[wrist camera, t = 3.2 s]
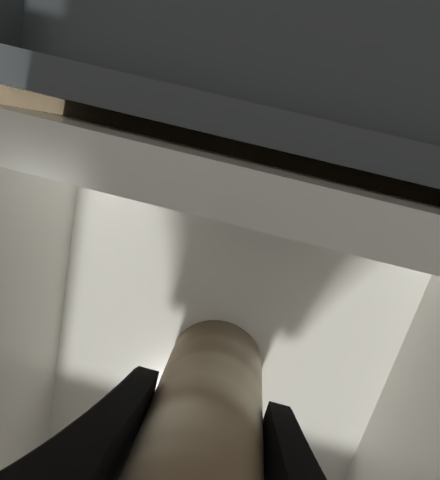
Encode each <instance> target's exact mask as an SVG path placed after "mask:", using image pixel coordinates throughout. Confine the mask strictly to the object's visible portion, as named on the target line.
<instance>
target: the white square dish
mask: <svg viewBox="0 0 440 480" xmlns="http://www.w3.org/2000/svg"><path fill="white" fill-rule="evenodd" d="M207 320H221V321H226V322H229V323H232V324H235V325H237V326H239V327H240V328H242V329H243V330H245V331H246V332H247V333H248V334H249V335H250V336H251V337H252V338H253V339H254V341H255V342H256V344H257V346H258V348H259V350H260V354H261V361H262V402H263V418H264V415H265V412H266V409H267V406H268V403H269V401H271V402H275V403H278V404H282V405H286V406H290V407H291V409H292V411H293V413H294V415H295V417H296V419H297V421H298V423H299V425H300V427H301V430H302V432H303V434H304V436H305V438H306V440H307V442H308V444H309V446H310V448H311V450H312V452H313V454H314V456H315V458H316V460H317V462H318V463H319V465H320V467H321V469H322V471H323V473H324V475H325V476H326V478H327V480H440V206H436V205H431V204H427V203H423V202H419V201H415V200H411V199H407V198H402V197H398V196H394V195H390V194H386V193H382V192H378V191H374V190H369V189H365V188H361V187H357V186H353V185H349V184H345V183H341V182H336V181H332V180H328V179H324V178H320V177H316V176H312V175H307V174H303V173H299V172H295V171H291V170H287V169H283V168H279V167H274V166H270V165H266V164H262V163H258V162H254V161H250V160H246V159H241V158H237V157H233V156H229V155H225V154H221V153H217V152H212V151H208V150H204V149H200V148H196V147H192V146H188V145H184V144H179V143H175V142H171V141H167V140H163V139H159V138H155V137H151V136H146V135H142V134H138V133H134V132H130V131H126V130H122V129H117V128H113V127H109V126H105V125H101V124H97V123H93V122H89V121H84V120H80V119H76V118H72V117H68V116H64V115H59V114H53V113H47V112H42V111H36V110H30V109H24V108H19V107H13V106H7V105H1V104H0V470H2V469H3V468H5V467H7V466H9V465H10V464H12V463H13V462H15V461H17V460H18V459H20V458H21V457H23V456H25V455H26V454H28V453H29V452H31V451H32V450H34V449H35V448H37V447H38V446H40V445H41V444H43V443H44V442H46V441H47V440H49V439H50V438H51V437H53V436H54V435H56V434H57V433H58V432H60V431H61V430H62V429H64V428H65V427H66V426H68V425H69V424H70V423H72V422H73V421H74V420H76V419H77V418H79V417H80V416H81V415H82V414H84V413H85V412H86V411H87V410H89V409H90V408H91V407H92V406H93V405H95V404H96V403H97V402H98V401H99V400H101V399H102V398H103V397H104V396H105V395H107V394H108V393H109V392H110V391H111V390H112V389H113V388H114V387H116V386H117V385H118V384H119V383H120V382H121V381H122V380H123V379H124V378H125V377H126V376H127V375H128V374H129V373H130V372H131V371H132V370H133V369H134V368H136V367H138V366H141V367H145V368H148V369H152V370H156V371H159V375H158V380H157V384H156V388H157V385H158V383H159V381H160V378H161V376H162V374H163V371H164V369H165V366H166V364H167V362H168V359H169V357H170V354H171V352H172V350H173V347H174V345H175V343H176V341H177V339H178V337H179V336H180V335H181V334H182V333H183V331H185V330H186V329H187V328H189V327H190V326H192V325H194V324H196V323H199V322H202V321H207ZM155 390H156V389H155Z"/></svg>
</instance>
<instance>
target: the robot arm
mask: <svg viewBox="0 0 440 480" xmlns="http://www.w3.org/2000/svg"><path fill="white" fill-rule="evenodd" d="M158 375H159V371H156V370H152V369H148V368H145V367H141V366H138V367H136V368H134V369H133V370H132V371H131V372H130V373H129V374H128V375H127V376H126V377H125V378H124V379H123V380H122V381H121V382H120V383H119V384H118V385H117V386H116V387H114V388H113V389H112V390H111V391H110V392H109V393H108V394H107V395H105V396H104V397H103V398H102V399H101V400H99V401H98V402H97V403H96V404H95V405H93V406H92V407H91V408H90V409H89V410H87V411H86V412H85V413H84V414H82V415H81V416H80V417H79V418H77V419H76V420H74V421H73V422H72V423H70V424H69V425H68V426H66V427H65V428H64V429H62V430H61V431H60V432H58V433H57V434H56V435H54V436H53V437H51V438H50V439H49V440H47V441H46V442H44V443H43V444H41V445H40V446H38V447H37V448H35V449H34V450H32V451H31V452H29V453H28V454H26V455H25V456H23V457H21V458H20V459H18V460H17V461H15V462H13V463H12V464H10V465H9V466H7V467H5V468H3V469H2V470H0V480H118V479H119V476H120V474H121V471H122V469H123V467H124V464H125V462H126V459H127V457H128V455H129V452H130V450H131V447H132V445H133V443H134V440H135V438H136V436H137V433H138V431H139V428H140V426H141V424H142V422H143V419H144V417H145V414H146V412H147V410H148V407H149V405H150V403H151V400H152V398H153V395H154V393H155V389H156V384H157V380H158ZM263 445H264V480H327V478H326V476H325V475H324V473H323V471H322V469H321V467H320V465H319V463H318V462H317V460H316V458H315V456H314V454H313V452H312V450H311V448H310V446H309V444H308V442H307V440H306V438H305V436H304V434H303V432H302V430H301V427H300V425H299V423H298V421H297V419H296V417H295V415H294V413H293V411H292V409H291V407H290V406H286V405H282V404H278V403H275V402H271V401H269V403H268V406H267V409H266V412H265V415H264V418H263Z"/></svg>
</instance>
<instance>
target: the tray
mask: <svg viewBox="0 0 440 480" xmlns="http://www.w3.org/2000/svg"><path fill="white" fill-rule="evenodd" d="M0 84H2V85H6V86H10V87H14V88H18V89H23V90H27V91H31V92H35V93H39V94H43V95H48V96H52V97H56V98H60V99H64V100H68V101H73V102H77V103H81V104H85V105H89V106H93V107H98V108H102V109H106V110H110V111H114V112H118V113H123V114H127V115H131V116H135V117H139V118H143V119H148V120H152V121H156V122H160V123H164V124H168V125H172V126H177V127H181V128H185V129H189V130H193V131H197V132H202V133H206V134H210V135H214V136H218V137H222V138H227V139H231V140H235V141H239V142H243V143H247V144H252V145H256V146H260V147H264V148H268V149H272V150H277V151H281V152H285V153H289V154H293V155H297V156H302V157H306V158H310V159H314V160H318V161H322V162H326V163H331V164H335V165H339V166H343V167H347V168H351V169H356V170H360V171H364V172H368V173H372V174H376V175H381V176H385V177H389V178H393V179H397V180H401V181H406V182H410V183H414V184H418V185H422V186H426V187H431V188H435V189H439V190H440V0H0Z"/></svg>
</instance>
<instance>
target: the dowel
mask: <svg viewBox="0 0 440 480" xmlns="http://www.w3.org/2000/svg"><path fill="white" fill-rule="evenodd" d="M118 480H264V445H263V402H262V361H261V354H260V350H259V348H258V346H257V344H256V342H255V341H254V339H253V338H252V337H251V336H250V335H249V334H248V333H247V332H246V331H245V330H243V329H242V328H240V327H239V326H237V325H235V324H232V323H229V322H226V321H221V320H207V321H202V322H199V323H196V324H194V325H192V326H190V327H189V328H187V329H186V330H185V331H183V333H182V334H181V335H180V336H179V337H178V339H177V341H176V343H175V345H174V347H173V350H172V352H171V354H170V357H169V359H168V362H167V364H166V366H165V369H164V371H163V374H162V376H161V378H160V381H159V383H158V385H157V388H156V390H155V393H154V395H153V398H152V400H151V403H150V405H149V407H148V410H147V412H146V414H145V417H144V419H143V422H142V424H141V426H140V428H139V431H138V433H137V436H136V438H135V440H134V443H133V445H132V447H131V450H130V452H129V455H128V457H127V459H126V462H125V464H124V467H123V469H122V471H121V474H120V476H119V479H118Z"/></svg>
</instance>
